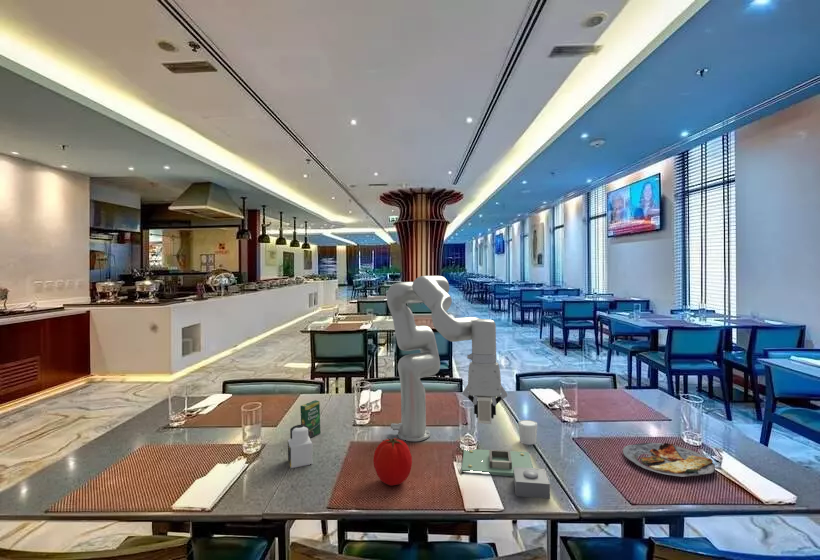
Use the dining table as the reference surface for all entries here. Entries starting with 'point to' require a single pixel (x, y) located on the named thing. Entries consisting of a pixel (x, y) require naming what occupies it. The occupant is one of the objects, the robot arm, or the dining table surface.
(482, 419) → the plug
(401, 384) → the robot arm
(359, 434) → the dining table surface
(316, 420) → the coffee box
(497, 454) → the socket
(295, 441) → the medicine bottle
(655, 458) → the food plate
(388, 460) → the tomato
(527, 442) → the gray cup
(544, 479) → the grey push button box
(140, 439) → the dining table surface
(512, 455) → the board
